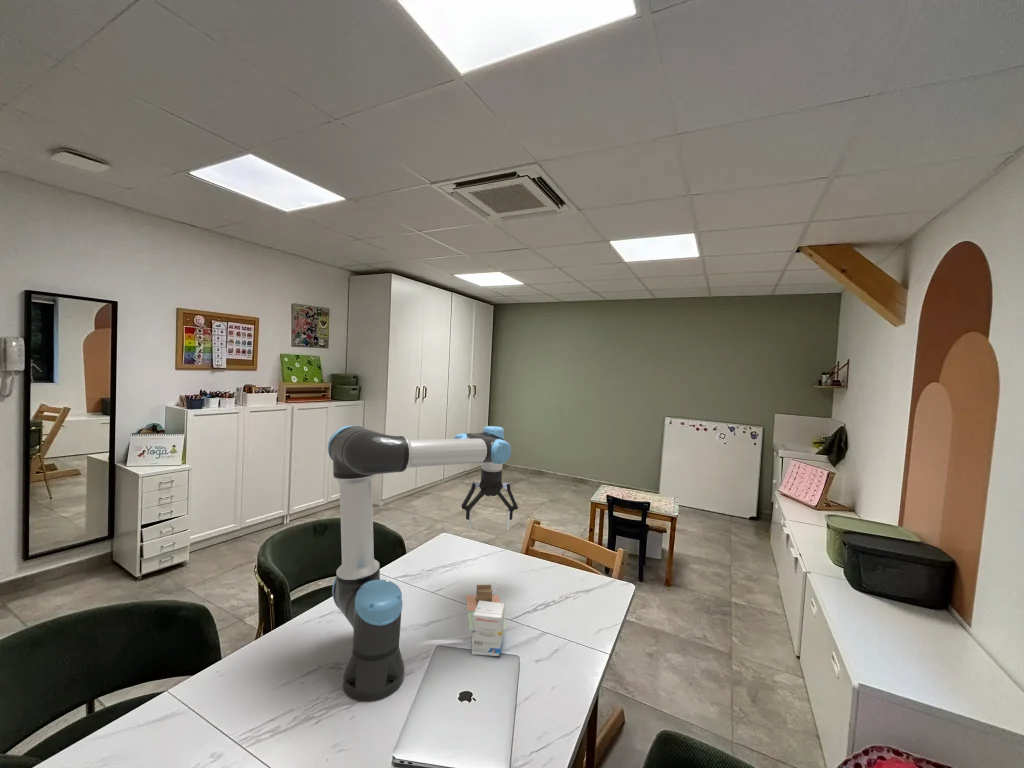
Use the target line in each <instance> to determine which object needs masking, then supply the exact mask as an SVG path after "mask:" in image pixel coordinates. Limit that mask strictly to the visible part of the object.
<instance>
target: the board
mask: <svg viewBox="0 0 1024 768" xmlns="http://www.w3.org/2000/svg"><path fill="white" fill-rule="evenodd" d="M465 599H466V607H467V609H466V610H467V617H468V619H467V620H468V626H469V631H473V614H474V611H475V609H476V606H477V602H476V594H475V595H474V594H473V595H471V594H470V595H465ZM492 602H496V603H501V599H500V596H499V594H492ZM507 629H508V627H507V622H506V619H505V617H504V627H503V630H507Z"/></svg>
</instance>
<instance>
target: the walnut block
mask: <svg viewBox="0 0 1024 768" xmlns="http://www.w3.org/2000/svg"><path fill="white" fill-rule="evenodd" d="M492 589H493V588H492V585H491V584H476V594H475V595H476V602H477V604H478V602H479V600H480V601H488V602H492V595H493V590H492Z"/></svg>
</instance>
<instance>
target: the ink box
mask: <svg viewBox="0 0 1024 768" xmlns="http://www.w3.org/2000/svg"><path fill="white" fill-rule="evenodd" d="M505 605H506V604H505V603H501V602H500V603H496V602H488V601H480V600H479V602H478V604H477V606H476V609H475V611H473V612H474V614H473V630H472V637H471V639H472V640H471V642H472V643H471V651H472V650H478V651H487V652H494V653H499V654H500V653H502V648H503V640H504V629H503V627H504V618H505V610H506V608H505ZM500 655H501V654H500Z"/></svg>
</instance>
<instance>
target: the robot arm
mask: <svg viewBox="0 0 1024 768" xmlns="http://www.w3.org/2000/svg"><path fill="white" fill-rule="evenodd" d="M453 437H454V438H433V439H431V438H429V439H428V438H427V439H425V438H424V439H423V438H422V439H408V438H407V437H406V436H404V435H390V434H384V433H380V432H378V431H375V430H370V429H368V428H365V427H363V426H360V425H346V426H342V427H341V428H339V429H337V430H336V431H334V433H332V435H331V436H330V438H329V441H328V443H327V452H328V455H329V458H330V459H331V461H332V469H333V470H332V471H333V472H332V473H333V478H334V479H335V480H336V481H337V482H338V483H339V507H340V508H339V510H340V541H341V542H340V544H341V545H340V546H341V564H340V566H339V567H337V569H336V577H335V578H334V581H333V582H332V583H333V584H332V588H331V590H332V591H331V594H332V598H333V601H334V604H335V605H336V606H335V607H337V609H339V611H340V612H341V613H342V614H343V616H344V617H345V618H346V620H347V621H348V622H349V624H350V625H351V627H352V629H353V632H352V633H353V635H352V649H351V650H352V651H351V654H350V657H349V659H348V662H347V664H346V668H345V669H344V673H343V679H342V688H343V691H344V693H345V694H346V696H347V697H349V698H350V699H353V700H356V701H358V702H374V701H378V700H382V699H385V698H386V697H389V696H391V695H392V694H393V693H394V692H396V691H397V690H398V689H400V687H401V686H402V684H403V682H404V679H405V664H404V663H405V662H404V660H403V656H402V652H401V649H400V648H401V647H400V638H401V637H400V636H401V626H402V625H401V623H402V611H403V595H402V591H401V589H400V587H399V586H398V585H397V583H394V582H393V581H390V580H389V581H387V580H386V579H381V573H380V572H381V570H380V569H381V568H380V564H381V563H380V562H379V561H378V560H376V559H375V554H374V553H375V552H374V549H375V548H374V513H373V511H374V510H373V478H374V477H375V476H376V475H382V474H384V475H385V474H394V473H404V472H406V471H407V469H408V468H410V469H411V468H420V467H434V466H435V467H436V466H437V467H438V466H448V465H449V466H450V465H463V464H465V465H466V464H480V463H481V470H480V481H479V482H476V481H472V482H471V487H470V489H469V491H468V493H467V495H466V496H465V498H464V500H463V501H462V503H461V509H462V510H465V519H466V520H467V521H468V525H467V526H468V530H469V531H472V519H473V518H472V516H473V514H472V513H473V510H472V509H473V507H475V505H476V504H477V503H478V502H479V501H480V500H481V499H482V498H483V497H484V496H485V497H490V496H492V497H495V496H498V497H499V499H500V500H501V501H502V502H503V503H504V505H505V506H506V507H507V509H506V516H505V517H506V518H505V529H506V530H507V531H509V530H510V521H512V520H513V512H514V511H515V510H519V506H518V504H517V502H516V499H515V497H514V495H513V493H512V491H511V484H510V482H509V481H508V482H506V483H503V481H502V479H503V471H502V470H503V467H504V466H503V464H505V463H507V462H508V461H509V460H510V457H511V455H512V447H511V444H510V443H509V442H508V441H506V440H505V430H504V428H503V427H501V426H494V425H493V426H492V425H488V426H487V425H486V426H484V428H483V431H482V432H469V433H467V432H463V433H457V434H456V435H455V436H453ZM478 488H479V489H480V491H478V493H477V494H476V495H475V497H474V498H473V499H472V500H471V498H472V496H473V494H474V492H475V490H477V489H478ZM503 488H504V490H506V492H507V495H508V497H509V499H510V501H511V504H512V505H511V504H510V502H509V501H508V500H507V499H506V497H505V496H504V494H503V493H502V492H501V490H502V489H503ZM470 500H471V501H470Z"/></svg>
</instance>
